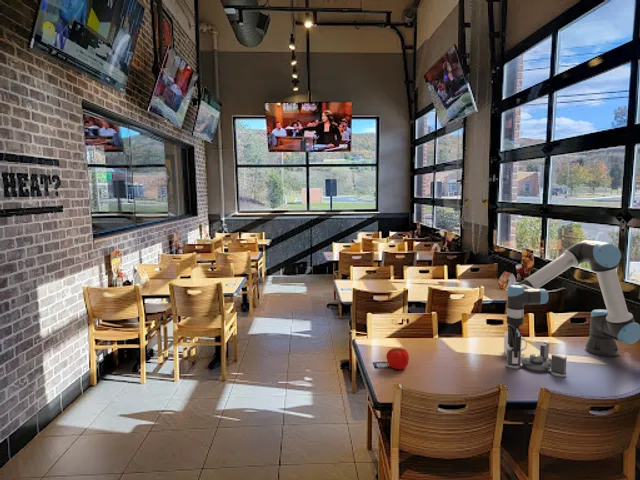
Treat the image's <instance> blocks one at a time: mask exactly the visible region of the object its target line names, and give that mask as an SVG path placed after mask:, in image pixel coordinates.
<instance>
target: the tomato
mask: <svg viewBox="0 0 640 480" xmlns="http://www.w3.org/2000/svg"><path fill="white" fill-rule="evenodd" d="M385 356H386V361H387V364H388V365H389V367H390V368H392V369H394V368H395V369H394V370H397V369H399V370H404V369H405V368H407V366H408V364H409V362H410V361H409V360H410V355H409V352H408V350H406V349H405V348H402V347H395V348H394V347H393V348H390V349H389V351H387V353H386V355H385Z"/></svg>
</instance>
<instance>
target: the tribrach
mask: <svg viewBox="0 0 640 480" xmlns="http://www.w3.org/2000/svg"><path fill="white" fill-rule="evenodd" d="M551 359H552V357H549V356H548V358H546V359H545V360H543V357H542V356H540V354H537V353H536V354H530V355H529V357H524V358H522V359H521V362H520V365H519V364H507V361H506V362H505V366H506V368H508V369H512V370H520V369H525V370H528V371H531V372H534V373H549V374H550V375H551V376H553V377H555V378H566V377H567V372H566V373H565V374H562V373H559V372H556V371H553V370H551Z"/></svg>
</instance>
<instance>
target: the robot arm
mask: <svg viewBox="0 0 640 480" xmlns="http://www.w3.org/2000/svg"><path fill="white" fill-rule="evenodd" d="M621 258H622V253H621V250H620V249H619V248H618V247H617V245H616V244H613V243H611V242H607V241H599V240H594V239H585V240H582V241H578V242H577V243H575V244H573V245H571V246H569V247H568V248H566V249H564V250H563V252H562V254H561V255H559V256H558V257H557V258H555V259H554V260H552V261H550V262H549V263H547V264H546V265H544V266H543V267H541V268H540V269H538V270H536V271H534V273H532V274H531V275H529V276H528V277H526V278H525V279H523V280H522V281H514V282H513V283H511V284H510V285H508V287H507V292H506V297H507V298H506V300H507V302H506V310H505V313H506V315H507V316H506V324H507V332H508V344H509V347H511V348H512V349H513V350H512V364H518V351H520V348H522V344H521V336H522V335H523V334H522V332H521V329H520V326H523V325H524V312H525V310H524V309H525V308H524V306H525V305H543V304H548V302H549V293H548V291H547V289H545V288H541V287H543V286H545V284H547V283H549V282H551V280H554V279H555V278H556V277H558V276H559V275H561V274H563V272H566V271H568V270H569V269H570V268H571V267H573V266H574V267H577V266H578V265H580V264H582V263H588V264H589V265H590V269H591V271H592V272H593V273H595V275H596V278H597V281H598V285H599V287H600V290H601V294H602V295H601V296H602V298H603V301H604V304H605V308H606V309H600V308H599V309H593V310H592V311H591V312H590V319H589V320H590V326H589V337H588V339H587V341H586V342H585V345H584V348H585V351H587V352H589V353H590V354H593V355H597V356H601V357H616V356H618V355H619V348H618V347H619V346H618V344H617V342H620V343H623V344H626V345H631V344H635V343H637V342H638V341H639V340H640V324H639V323H637V322H635V318H634V315H633V313H632V312H629V310H628V307H627V304H626V303H627V302H626V300H625V296H624V292H623V290H622V289H623V288H622V286H621V282H620V279H619V275H618V271H617V270H618V268H619V263H620V262H621ZM522 337H523V336H522Z"/></svg>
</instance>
